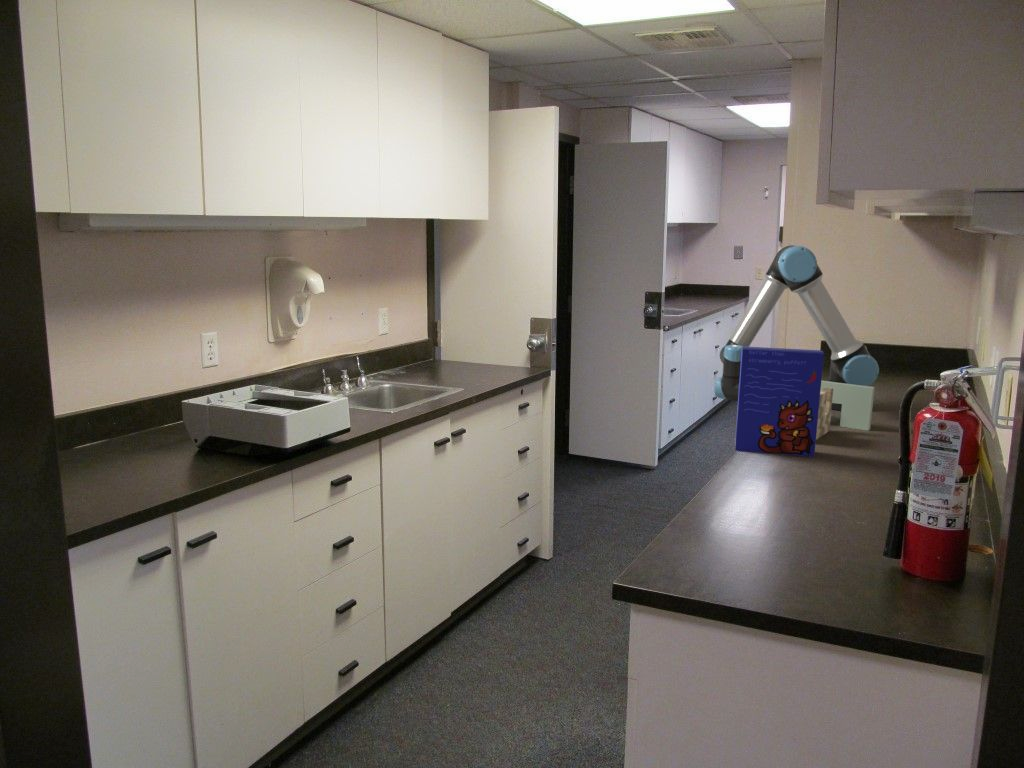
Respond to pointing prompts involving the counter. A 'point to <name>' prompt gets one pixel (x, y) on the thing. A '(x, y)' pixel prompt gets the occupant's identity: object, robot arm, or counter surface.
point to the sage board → (853, 403)
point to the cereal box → (778, 400)
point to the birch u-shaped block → (824, 412)
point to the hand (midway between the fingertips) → (827, 402)
